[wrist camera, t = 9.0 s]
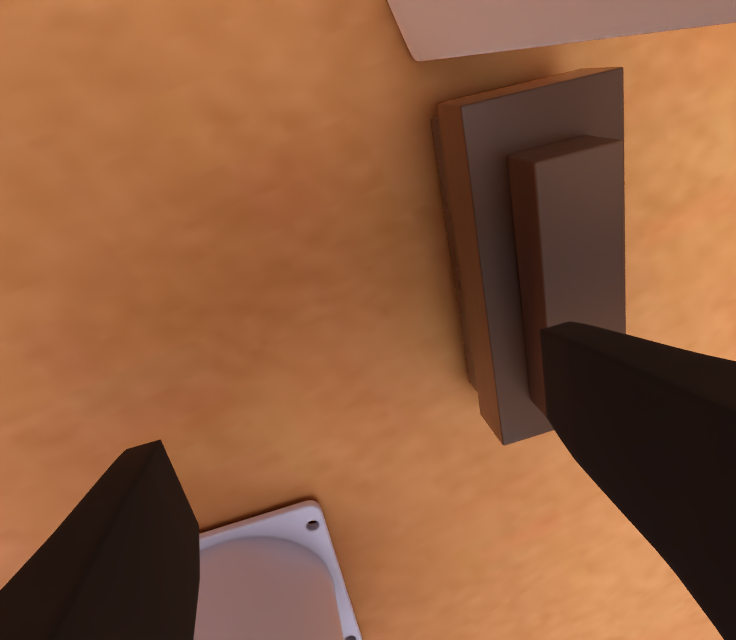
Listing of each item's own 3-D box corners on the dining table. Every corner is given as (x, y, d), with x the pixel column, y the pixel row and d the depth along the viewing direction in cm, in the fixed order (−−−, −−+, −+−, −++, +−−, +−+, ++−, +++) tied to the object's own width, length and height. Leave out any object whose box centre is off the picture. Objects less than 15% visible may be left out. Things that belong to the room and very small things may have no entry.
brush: (573, 362, 23) (658, 434, 18) (465, 394, 22) (525, 476, 18) (556, 69, 18) (665, 64, 13) (420, 101, 17) (485, 107, 13)
